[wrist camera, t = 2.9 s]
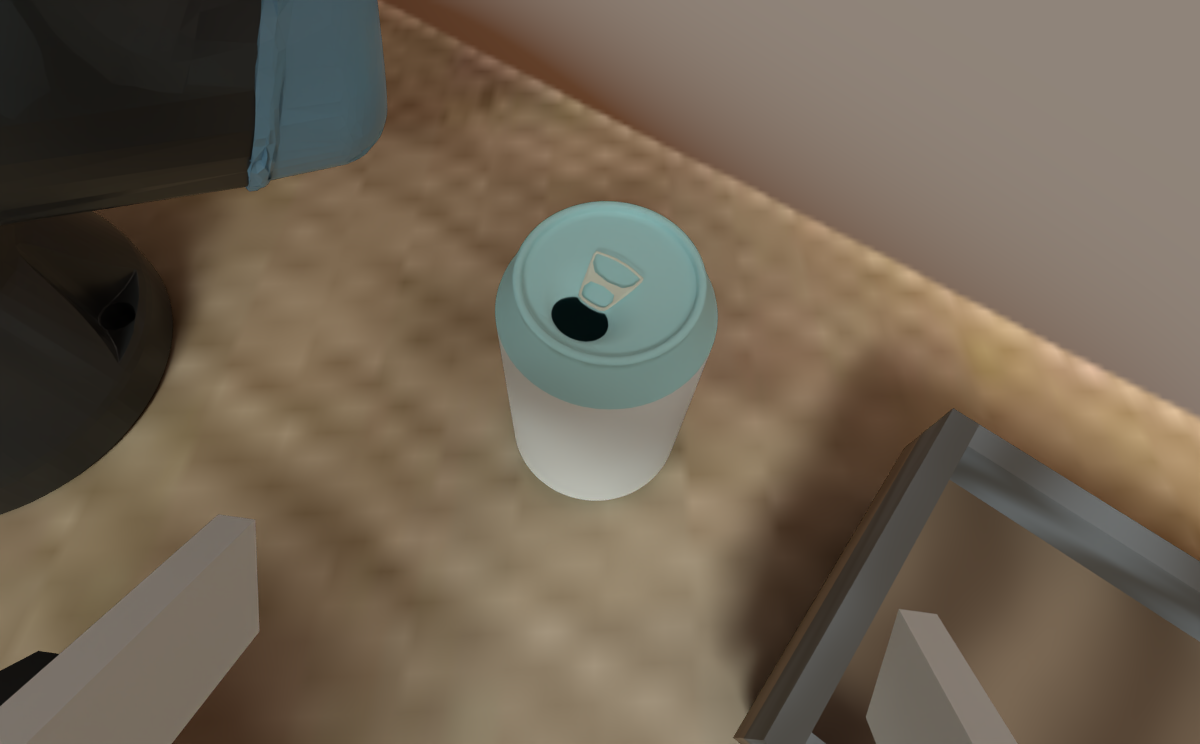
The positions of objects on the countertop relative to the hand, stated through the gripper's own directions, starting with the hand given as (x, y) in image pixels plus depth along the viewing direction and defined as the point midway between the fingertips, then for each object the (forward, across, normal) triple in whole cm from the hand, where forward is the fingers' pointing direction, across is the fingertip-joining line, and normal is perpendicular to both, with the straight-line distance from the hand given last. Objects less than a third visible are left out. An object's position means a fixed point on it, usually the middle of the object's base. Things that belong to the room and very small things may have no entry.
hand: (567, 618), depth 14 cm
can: (+17, 0, -3) cm, 17 cm away
